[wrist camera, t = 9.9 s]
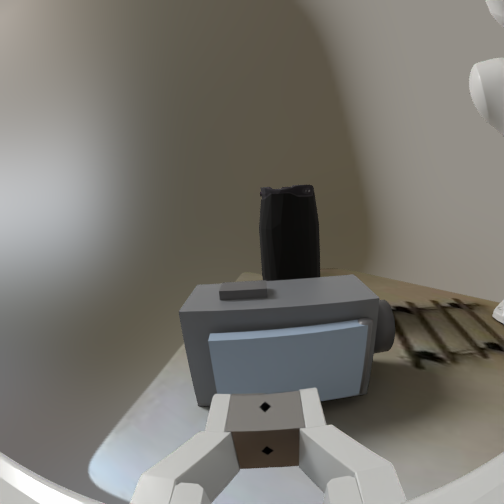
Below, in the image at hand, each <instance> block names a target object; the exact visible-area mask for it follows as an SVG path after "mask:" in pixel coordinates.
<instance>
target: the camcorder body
mask: <svg viewBox="0 0 504 504" xmlns="http://www.w3.org/2000/svg"><path fill="white" fill-rule="evenodd" d="M179 316H180V322H181V327H182V333H183V338H184V343H185V348H186V353H187V358H188V363H189V368H190V372H191V377H192V381H193V386H194V390H195V394H196V398H197V402H198V406H211V402H212V398H213V396H214V395H215V394H217V390H216V384H215V379H214V373H213V367H212V362H211V356H210V349H209V343H208V340H209V336H210V333H230V332H247V331H260V330H273V329H284V328H294V327H303V326H312V325H321V324H329V323H336V322H343V321H351V320H357V319H360V318H363V317H367V318H371V319H372V320H373V324H372V334H371V343H370V351H369V358H368V365H367V372H366V378H365V384H364V390H363V393H362V394H360V395H363V394H367V390H368V384H369V379H370V373H371V367H372V360H373V354H374V353H379V352H385V351H389V350H390V349H391V347H392V345H393V342H394V337H395V321H394V316H393V312H392V309H391V307H390V305H389V303H388V302H387V301H386V300H379V297H378V296H377V295H376V294H375V293H373V292H372V291H371V290H370V289H369V288H368V287H367V286H366V285H365V284H364V283H363V282H361V281H360V280H359V279H358V278H357V277H356V276H355V275H343V276H331V277H318V278H305V279H291V280H276V281H266V280H262V281H245V282H227V283H222V284H206V285H197V286H196V287H195V289H194V290H193V292H192V293H191V295H190V296H189V298H188V299H187V300H186V302H185V303H184V305H183V306H182V308H181V309H180V311H179ZM353 396H357V395H353ZM348 397H352V396H348ZM343 398H345V397H343ZM337 399H339V398H337Z"/></svg>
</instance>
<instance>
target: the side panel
mask: <svg viewBox="0 0 504 504" xmlns="http://www.w3.org/2000/svg"><path fill="white" fill-rule="evenodd" d="M372 324H373V320H372V319H371V318H367V317H363V318H360V319H357V320H351V321H343V322H336V323H329V324H321V325H312V326H303V327H294V328H284V329H273V330H260V331H247V332H230V333H210V336H209V340H208V343H209V349H210V356H211V362H212V367H213V373H214V379H215V384H216V390H217V394H251V393H273V392H284V391H294V390H300V389H308V388H315V387H316V388H317V389H318V393H319V397H320V401H326V400H332V399H337V398H343V397H348V396H353V395H360V394H362V393H363V390H364V384H365V378H366V372H367V365H368V358H369V351H370V343H371V334H372Z"/></svg>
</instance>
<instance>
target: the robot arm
mask: <svg viewBox="0 0 504 504" xmlns="http://www.w3.org/2000/svg"><path fill="white" fill-rule="evenodd" d="M485 1H486V4H487V6H488V9H489V11H490V13H491V14H492V16H493V17H494V18H495V20H496V21H497V22H498V23H499V24H500V25H501V26H502V27H504V0H485ZM469 88H470V94H471V98H472V100H473V103H474V105H475V106H476V109H477V110H478V112H479V113H480V115H481V116H482V117H483V118H484V119H485V121H487V122H488V123H489V124H490V125H491V126H493V127H494V128H495V129H497V130H498V131H499V132H500V133H501V134H502V135H503V136H504V58H495V59H490V60H486V61H482V62H479V63H476V64H474V66H473V68H472V70H471V73H470V77H469ZM492 316H493V317H494V318H495V319H496V320H498V321H500V322H501V323H503V324H504V300H503V301H502V302H501V303H500V304H499V305H498V306H497V307H496V308H495V309H494V312H493V315H492ZM289 466H299V468H300V469H301V470H302V471H303V472H304V473H305V474H306V475H307V476H308V477H309V478H310V479H311V480H312V481H313V482H314V483H315V484H316V485H317V486H318V487H319V488H320V489H321V490H322V491H323V492H324V493H325V495H324V499H323V503H322V504H504V452H502V453H501V454H499V455H498V456H496V457H495V458H493V459H491V460H490V461H488V462H487V463H485V464H483V465H482V466H480V467H478V468H476V469H475V470H473V471H471V472H469V473H468V474H466V475H464V476H462V477H460V478H458V479H456V480H454V481H452V482H450V483H448V484H446V485H444V486H441V487H439V488H437V489H435V490H432V491H430V492H428V493H425V494H423V495H420V496H418V497H415V498H413V499H410V500H406V497H405V494H404V492H403V489H402V487H401V484H400V481H399V479H398V476H397V474H396V471H395V469H394V466H393V464H392V463H390V462H389V461H387V460H385V459H384V458H382V457H381V456H379V455H377V454H376V453H374V452H373V451H371V450H369V449H368V448H366V447H365V446H363V445H362V444H360V443H359V442H357V441H356V440H354V439H353V438H351V437H350V436H348V435H347V434H345V433H344V432H342V431H341V430H339V429H338V428H336V427H335V426H334V425H332V424H331V425H327V424H326V420H325V416H324V413H323V409H322V405H321V401H320V397H319V393H318V389H317V388H316V387H315V388H308V389H300V390H294V391H284V392H273V393H251V394H215V395H214V396H213V398H212V402H211V406H210V411H209V415H208V419H207V424H206V428H205V432H198V433H197V434H196V435H195V436H193V437H192V438H191V439H189V440H188V441H187V442H186V443H184V444H183V445H182V446H180V447H179V448H178V449H176V450H175V451H174V452H172V453H171V454H170V455H168V456H167V457H165V458H164V459H163V460H161V461H160V462H158V463H157V464H156V465H154V466H153V467H151V468H150V469H148V470H147V471H145V472H144V473H143V474H141V476H140V479H139V481H138V484H137V486H136V489H135V491H134V494H133V496H132V499H131V502H130V504H211V503H212V502H213V501H214V499H215V498H216V497H217V496H218V495H219V494H220V493H221V492H222V491H223V490H224V488H225V487H226V486H227V485H228V484H229V483H230V481H231V480H232V479H233V478H234V477H235V476H236V474H237V473H238V472H239V471H240V469H250V468H268V467H289ZM0 504H105V503H102V502H99V501H96V500H93V499H91V498H88V497H85V496H83V495H80V494H78V493H75V492H73V491H71V490H69V489H66V488H64V487H62V486H59V485H58V484H55V483H53V482H51V481H49V480H47V479H45V478H43V477H41V476H39V475H38V474H36V473H34V472H32V471H30V470H29V469H27V468H25V467H23V466H22V465H20V464H18V463H17V462H15V461H13V460H12V459H10V458H9V457H7V456H6V455H4V454H2V453H1V452H0Z"/></svg>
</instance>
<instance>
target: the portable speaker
mask: <svg viewBox="0 0 504 504" xmlns="http://www.w3.org/2000/svg"><path fill="white" fill-rule="evenodd" d="M260 196H262V200H261V209H260V225H259V233H260V247H261V263H262V276H263V280H266V281H276V280H291V279H305V278H318V277H320V248H319V247H320V246H319V222H318V214H317V207H316V201H315V195H314V188H313V186H312V185H293V186H292V187H282V188H281V189H272V188H270V187H263V188H261V192H260Z"/></svg>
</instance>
